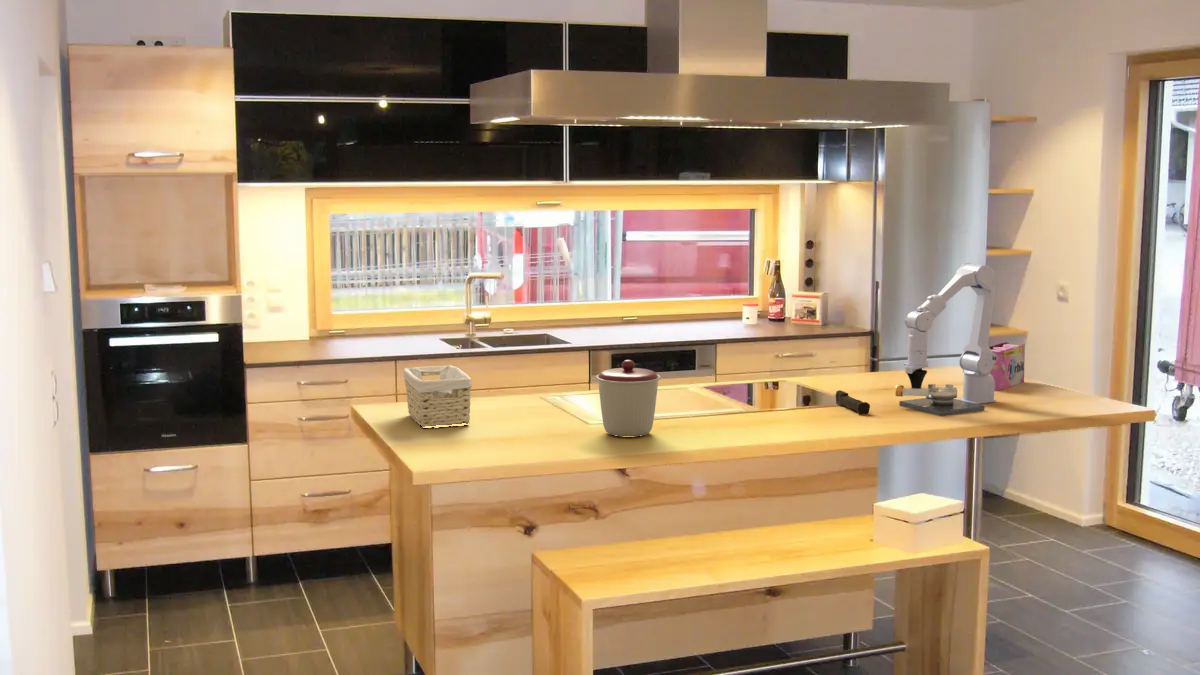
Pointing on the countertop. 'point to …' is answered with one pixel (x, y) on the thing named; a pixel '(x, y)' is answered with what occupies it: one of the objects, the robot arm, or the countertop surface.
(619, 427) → the canister
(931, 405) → the plate
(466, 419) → the storage basket
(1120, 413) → the countertop surface
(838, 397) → the hand tool
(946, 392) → the grey mechanical part
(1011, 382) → the gum box
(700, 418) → the countertop surface
